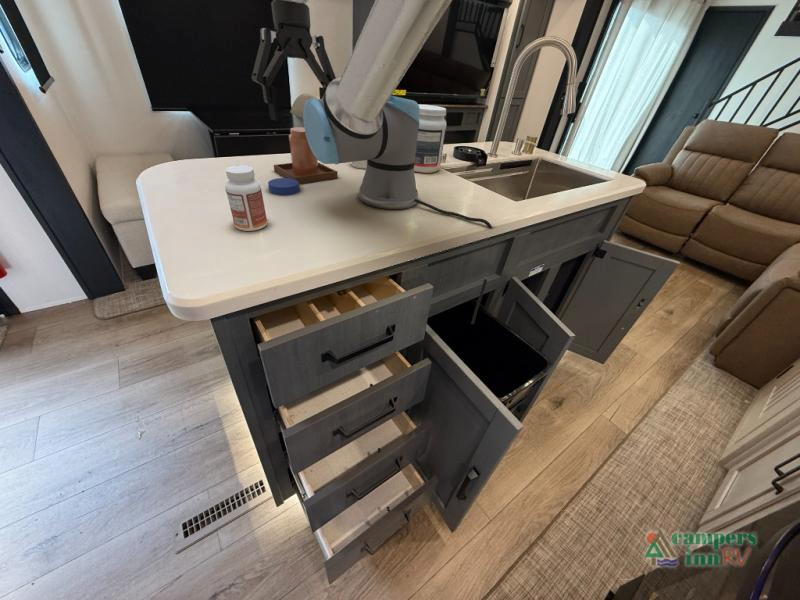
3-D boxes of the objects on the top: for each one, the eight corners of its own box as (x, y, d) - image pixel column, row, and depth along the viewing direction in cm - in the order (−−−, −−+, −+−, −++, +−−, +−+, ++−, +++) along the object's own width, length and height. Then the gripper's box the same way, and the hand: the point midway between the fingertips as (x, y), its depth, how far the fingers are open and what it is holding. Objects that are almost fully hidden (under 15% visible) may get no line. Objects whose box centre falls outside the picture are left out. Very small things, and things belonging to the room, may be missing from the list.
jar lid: (296, 184, 87) (295, 177, 86) (302, 193, 82) (302, 186, 81) (267, 186, 84) (265, 178, 83) (271, 196, 79) (270, 188, 78)
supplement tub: (411, 161, 117) (417, 102, 106) (444, 168, 113) (454, 108, 102) (396, 168, 108) (400, 105, 96) (431, 176, 104) (440, 111, 93)
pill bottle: (265, 217, 69) (256, 163, 62) (269, 230, 64) (259, 173, 58) (234, 220, 67) (220, 164, 60) (235, 233, 62) (221, 174, 56)
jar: (323, 175, 94) (320, 131, 87) (301, 178, 90) (296, 133, 83) (309, 168, 98) (306, 126, 91) (288, 171, 94) (282, 127, 87)
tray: (337, 178, 94) (337, 171, 93) (296, 184, 87) (295, 177, 86) (314, 166, 102) (314, 160, 101) (274, 171, 94) (273, 164, 93)
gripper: (235, -12, 57) (257, 123, 69) (350, 11, 71) (351, 119, 84) (219, -10, 61) (243, 118, 73) (331, 11, 75) (335, 115, 88)
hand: (301, 119), depth 79 cm, fingers open, 13 cm apart
